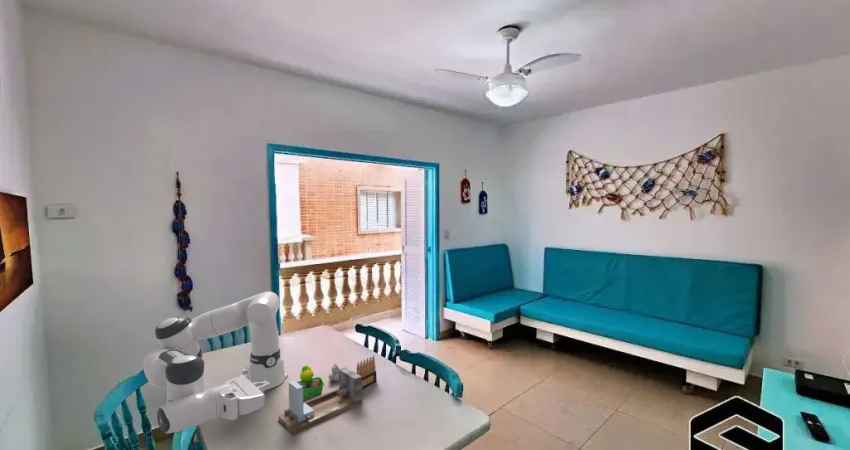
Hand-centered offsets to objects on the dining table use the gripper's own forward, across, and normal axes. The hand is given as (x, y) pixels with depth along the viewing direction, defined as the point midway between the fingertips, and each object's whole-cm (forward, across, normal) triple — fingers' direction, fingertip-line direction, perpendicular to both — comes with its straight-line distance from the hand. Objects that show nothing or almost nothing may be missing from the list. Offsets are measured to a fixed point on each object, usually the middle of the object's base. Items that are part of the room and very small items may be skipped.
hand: (268, 384), depth 123 cm
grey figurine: (+35, -19, -18) cm, 44 cm away
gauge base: (+19, -1, -18) cm, 26 cm away
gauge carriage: (+11, 0, -16) cm, 20 cm away
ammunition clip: (+42, -6, -18) cm, 46 cm away
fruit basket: (+21, -16, -18) cm, 32 cm away
